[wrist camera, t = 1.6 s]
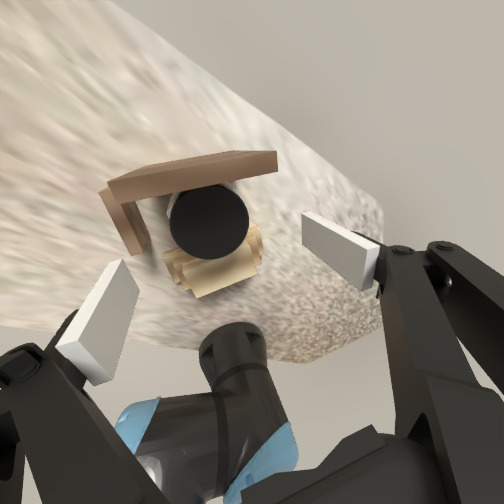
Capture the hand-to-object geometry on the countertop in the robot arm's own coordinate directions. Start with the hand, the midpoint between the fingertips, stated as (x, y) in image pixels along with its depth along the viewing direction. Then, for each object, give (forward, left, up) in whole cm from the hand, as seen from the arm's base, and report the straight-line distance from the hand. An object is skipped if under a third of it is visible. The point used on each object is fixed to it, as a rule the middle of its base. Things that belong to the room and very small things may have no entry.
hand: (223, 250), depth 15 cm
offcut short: (-10, 0, -14) cm, 17 cm away
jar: (0, 0, -19) cm, 19 cm away
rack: (+1, +2, -18) cm, 19 cm away
